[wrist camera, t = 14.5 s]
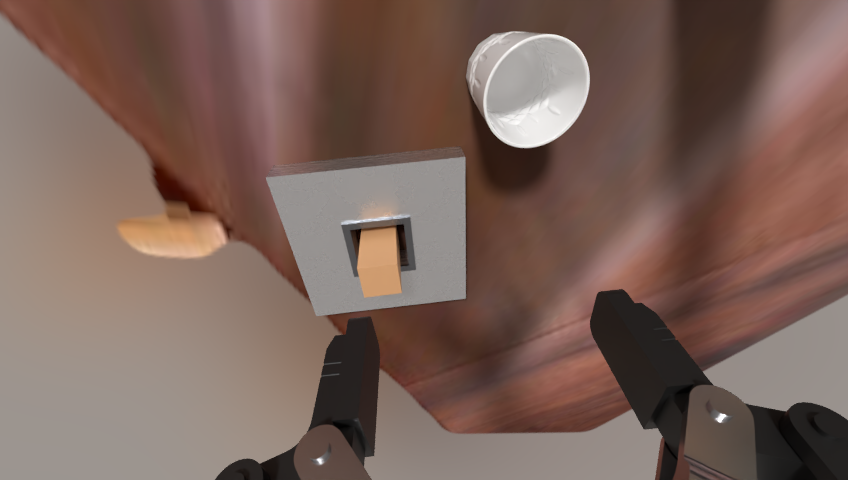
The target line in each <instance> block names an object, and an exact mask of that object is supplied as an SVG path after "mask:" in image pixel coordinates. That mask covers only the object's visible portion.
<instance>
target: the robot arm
mask: <svg viewBox="0 0 848 480" xmlns="http://www.w3.org/2000/svg"><path fill="white" fill-rule="evenodd" d="M590 328H591V332H592V335H593V338H594V340H595V342H596V343H597V345H598V347H599V349H600V351H601V352H602V354H603V356H604V358H605V360H606V361H607V363H608V365H609V367H610V369H611V371H612V372H613V374H614V376H615V378H616V380H617V381H618V383H619V385H620V387H621V389H622V391H623V392H624V394H625V396H626V398H627V400H628V401H629V403H630V405H631V407H632V409H633V410H634V412H635V414H636V416H637V418H638V420H639V421H640V423H641V425H642V427H643V429H653V428H658V429H659V431H660V433H661V434H662V436H663V437H662V439H661V443H660V450H659V457H658V464H657V470H656V477H655V480H848V420H847V419H845V418H844V417H842V416H841V415H839V414H838V413H836V412H834V411H832V410H830V409H828V408H826V407H823V406H820V405H817V404H813V403H805V402H802V403H797V404H794V405H793V406H791V407H790V408H789V410H787V412H785V411H780V410H775V409H769V408H764V407H759V406H753V405H748V404H745V403H744V402H742V400H741V399H739V398H738V397H737V396H735V395H734V394H732V393H731V392H729V391H727V390H725V389H723V388H720V387H717V386H714V385H713V384H712V383H711V382H710V381H709V380H708V378H707V377H706V376H705V375H704V373H703V372H702V371H701V369H700V368H699V367H698V366H697V364H696V363H695V362H694V361H693V359H692V358H691V357H690V355H689V354H688V353H687V352H686V350H685V349H684V348H683V347H682V345H681V344H680V343H679V342H678V340H676V339H675V336H674V335H673V334H672V333H671V331H670V330H669V329H667V326H666V325H665V324H664V322H663V321H662V320H661V319H660V317H659V316H658V315H657V314H656V313H655V312H654V311H652V310H651V309H649V308H648V307H647V306H645V305H644V304H642V303H634V302H633V301H632V299H631V298H630V296H629V295H628V294H627V293H626V292H625V291H624V290H622V289H619V290H610V291H601V292H598V294H597V296H596V300H595V304H594V308H593V312H592V316H591V320H590ZM379 366H380V351H379V344H378V340H377V336H376V333H375V329H374V326H373V322H372V319H371V317H361V318H352V319H349V320H348V324H347V330H346V335H338V336H335V337H334V338H333V340H332V342H331V343H330V345H329V346H328V348H327V350H326V355H325V359H324V366H323V369H322V374H321V375H322V377H321V379H320V383H319V388H318V393H317V398H316V402H315V407H314V412H313V417H312V421H311V425H310V427H309V430H308V431H307V433H306V434H305V435H304V436H303V438H302V439H301V440H300V441H299V443H298V444H297V445H296V446H295V447H293V448H292V449H290V450H288V451H287V452H285V453H282V454H280V455H278V456H276V457H274V458H271V459H269V460H267V461H265V462H263V463H261V464H259V463H258V462H256V461H255V460H253V459H242V460H238V461H236V462H234V463H232V464H231V465H229V466H228V467H226V468H225V469H224V470H223V471H222V472H221V473H220V474H219V475H218V476H217V478H216V479H215V480H372V479H371V478H370V476H369V475H368V473H367V472H366V470H365V468H364V459H365V457H369V456H374V449H375V432H376V415H377V398H378V382H379Z"/></svg>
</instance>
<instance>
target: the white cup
mask: <svg viewBox="0 0 848 480" xmlns="http://www.w3.org/2000/svg"><path fill="white" fill-rule="evenodd" d="M466 80H467V84H468V87H469V91H470V94H471V96H472V98H473V100H474V102H475V104H476V106H477V108H478V110H479V111H480V113H481V115H482V116H483V118H484V120H485V121H486V123H487V124H488V126H489V128H490V129H491V131H492V132H493V133H494V135H495V136H496V137H497V138H498V139H500V140H501V141H502V142H504V143H506V144H508V145H510V146H513V147H518V148H534V147H538V146H542V145H545V144H547V143H549V142H551V141H553V140H555V139H556V138H558V137H559V136H561V135H562V134H563V133H564V132H566V131H567V130H568V129H569V128H570V127H571V125H572V124H573V123H574V122H575V121H576V119H577V118H578V116H579V115H580V113H581V111H582V109H583V107H584V105H585V102H586V99H587V96H588V92H589V85H590V74H589V68H588V64H587V61H586V59H585V57H584V55H583V53H582V52H581V50H580V49H579V48H578V47H577V46H576V45H575V44H574V43H573V42H571V41H570V40H568V39H566V38H564V37H562V36H558V35H553V34H542V33H533V32H505V33H497V34H492V35H491V36H490V37H488V38H487V39H485V40H484V41H483V42H481V43H480V44H478V46H477V47H476V49H475V51H474V52H473V54H472V56H471V57H470V59H469V62H468V68H467V74H466Z"/></svg>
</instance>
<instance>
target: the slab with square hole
mask: <svg viewBox="0 0 848 480" xmlns="http://www.w3.org/2000/svg"><path fill="white" fill-rule="evenodd" d="M266 180H267V182H268V185H269V188H270V191H271V193H272V196H273V199H274V202H275V204H276V207H277V210H278V212H279V215H280V218H281V221H282V223H283V226H284V229H285V232H286V234H287V237H288V240H289V243H290V245H291V248H292V251H293V254H294V256H295V259H296V262H297V265H298V267H299V270H300V273H301V275H302V278H303V281H304V284H305V286H306V289H307V292H308V295H309V297H310V300H311V303H312V306H313V308H314V311H315V314H316V316H321V315H330V314H338V313H347V312H355V311H364V310H372V309H381V308H390V307H398V306H407V305H415V304H424V303H432V302H441V301H449V300H458V299H466V205H465V155H464V153H463V151H462V149H461V147H460V146H459V147H449V148H439V149H430V150H420V151H410V152H400V153H391V154H381V155H371V156H362V157H352V158H342V159H332V160H323V161H313V162H303V163H293V164H284V165H274V166H273V167H272V169H271V170H270V172H269V173H268V175H267V176H266ZM400 224H404V230H405V238H406V246H407V250H400V267H401V285H402V293H398V294H390V295H382V296H374V297H366V298H364V294H363V290H362V286H361V282H360V278H359V274H358V271H357V265H358V255H359V243H358V238H357V234H356V230H355V229H364V228H373V227H382V226H391V225H400Z"/></svg>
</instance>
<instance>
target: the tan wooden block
mask: <svg viewBox="0 0 848 480" xmlns="http://www.w3.org/2000/svg"><path fill="white" fill-rule="evenodd" d="M357 271H358V274H359V278H360V282H361V286H362V290H363V294H364V298H366V297H374V296H382V295H390V294H398V293H402V285H401V267H400V248H399V239H398V232H397V226H396V225H391V226H382V227H373V228H364V229H361V237H360V246H359V255H358V265H357Z"/></svg>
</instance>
